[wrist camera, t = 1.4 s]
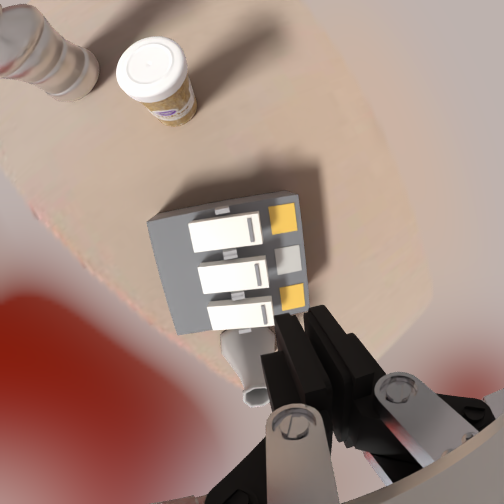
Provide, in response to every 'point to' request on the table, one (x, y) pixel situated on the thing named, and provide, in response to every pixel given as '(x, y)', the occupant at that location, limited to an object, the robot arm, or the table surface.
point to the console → (274, 247)
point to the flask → (249, 360)
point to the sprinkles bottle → (158, 79)
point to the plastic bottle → (43, 55)
